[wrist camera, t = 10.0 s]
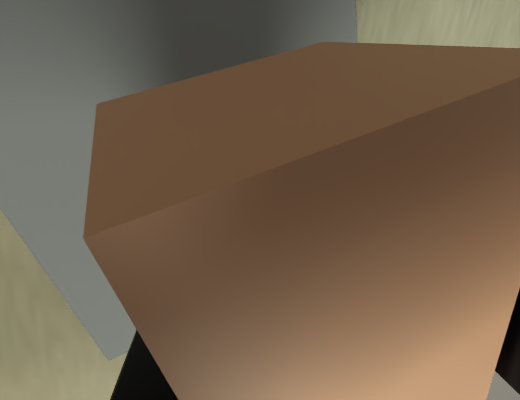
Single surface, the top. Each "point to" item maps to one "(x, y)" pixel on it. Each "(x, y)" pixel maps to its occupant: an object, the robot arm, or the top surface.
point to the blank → (317, 222)
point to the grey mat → (107, 88)
